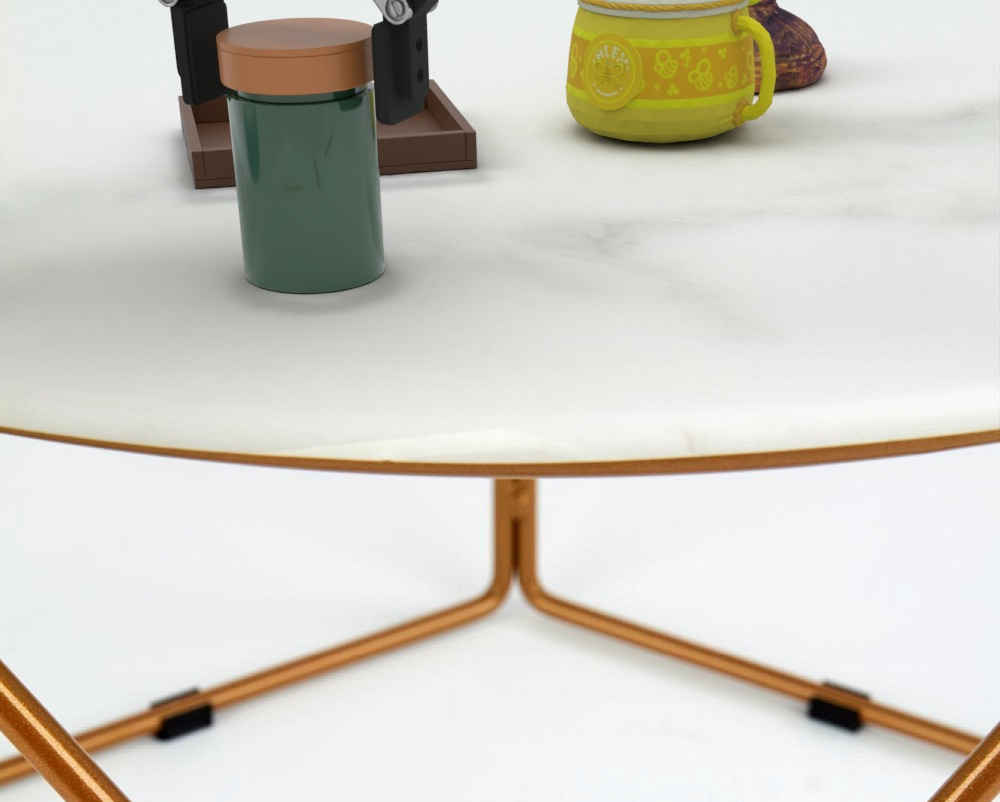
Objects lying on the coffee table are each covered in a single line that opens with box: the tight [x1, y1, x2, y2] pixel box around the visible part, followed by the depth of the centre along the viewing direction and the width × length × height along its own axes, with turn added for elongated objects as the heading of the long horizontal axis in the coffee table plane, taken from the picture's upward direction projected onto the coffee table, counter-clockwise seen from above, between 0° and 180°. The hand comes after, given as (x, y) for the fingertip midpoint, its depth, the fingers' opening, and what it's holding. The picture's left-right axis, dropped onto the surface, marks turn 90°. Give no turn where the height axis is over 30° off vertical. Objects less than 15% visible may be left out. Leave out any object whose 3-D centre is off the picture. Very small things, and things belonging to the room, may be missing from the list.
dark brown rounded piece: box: [747, 0, 828, 94], centre depth 109 cm, size 12×12×7 cm
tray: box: [177, 78, 478, 189], centre depth 97 cm, size 15×13×2 cm
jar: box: [227, 81, 386, 294], centre depth 76 cm, size 6×6×10 cm
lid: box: [216, 17, 374, 95], centre depth 73 cm, size 7×7×2 cm
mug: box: [565, 0, 776, 144], centre depth 95 cm, size 13×11×12 cm
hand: (303, 108), depth 75 cm, fingers open, 9 cm apart
